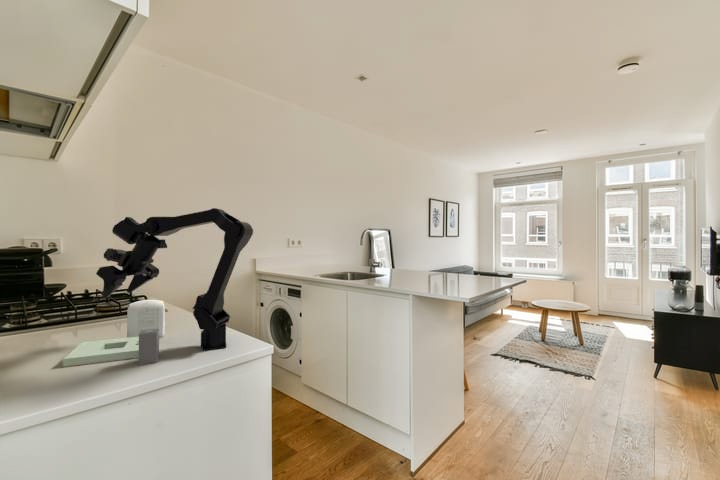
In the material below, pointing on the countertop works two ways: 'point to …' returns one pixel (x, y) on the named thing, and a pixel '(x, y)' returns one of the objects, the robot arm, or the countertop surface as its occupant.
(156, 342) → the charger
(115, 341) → the outlet plate
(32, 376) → the countertop surface
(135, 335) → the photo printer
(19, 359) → the countertop surface
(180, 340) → the countertop surface
